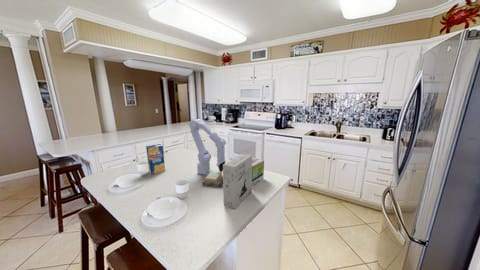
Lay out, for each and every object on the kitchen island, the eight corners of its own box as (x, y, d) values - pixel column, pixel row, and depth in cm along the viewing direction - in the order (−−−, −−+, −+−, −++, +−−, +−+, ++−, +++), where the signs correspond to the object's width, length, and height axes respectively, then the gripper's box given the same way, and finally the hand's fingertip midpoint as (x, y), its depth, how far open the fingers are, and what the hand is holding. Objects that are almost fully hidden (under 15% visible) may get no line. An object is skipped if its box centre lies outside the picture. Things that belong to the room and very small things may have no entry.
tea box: (253, 186, 123) (253, 166, 120) (241, 182, 129) (241, 163, 126) (263, 178, 135) (264, 160, 131) (252, 175, 141) (253, 157, 137)
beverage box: (165, 170, 148) (162, 145, 143) (151, 174, 141) (147, 147, 137) (162, 168, 153) (160, 143, 149) (148, 171, 147) (145, 146, 142)
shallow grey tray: (202, 185, 124) (202, 182, 123) (210, 176, 138) (210, 173, 138) (220, 187, 121) (220, 184, 121) (227, 177, 136) (227, 174, 135)
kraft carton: (205, 184, 126) (205, 177, 125) (212, 177, 138) (211, 171, 137) (216, 185, 124) (215, 179, 123) (221, 178, 136) (221, 172, 135)
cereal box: (234, 209, 98) (234, 167, 93) (223, 205, 102) (222, 164, 96) (251, 191, 116) (252, 155, 111) (241, 188, 120) (241, 153, 115)
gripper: (222, 158, 128) (223, 175, 131) (228, 152, 142) (228, 168, 145) (213, 157, 130) (214, 174, 133) (220, 151, 144) (220, 167, 146)
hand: (221, 171), depth 139 cm, fingers closed
